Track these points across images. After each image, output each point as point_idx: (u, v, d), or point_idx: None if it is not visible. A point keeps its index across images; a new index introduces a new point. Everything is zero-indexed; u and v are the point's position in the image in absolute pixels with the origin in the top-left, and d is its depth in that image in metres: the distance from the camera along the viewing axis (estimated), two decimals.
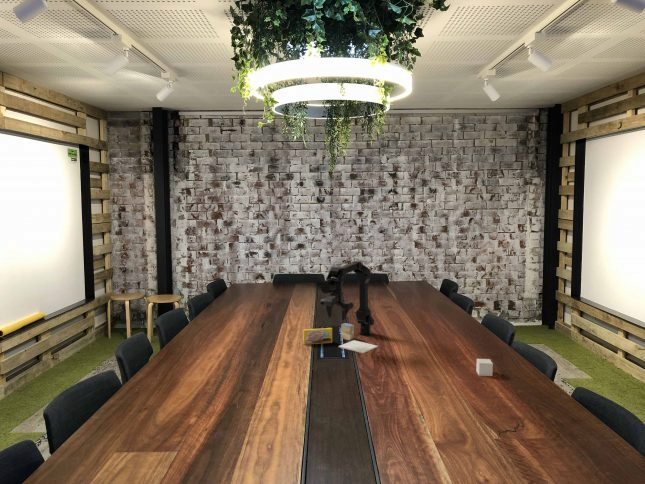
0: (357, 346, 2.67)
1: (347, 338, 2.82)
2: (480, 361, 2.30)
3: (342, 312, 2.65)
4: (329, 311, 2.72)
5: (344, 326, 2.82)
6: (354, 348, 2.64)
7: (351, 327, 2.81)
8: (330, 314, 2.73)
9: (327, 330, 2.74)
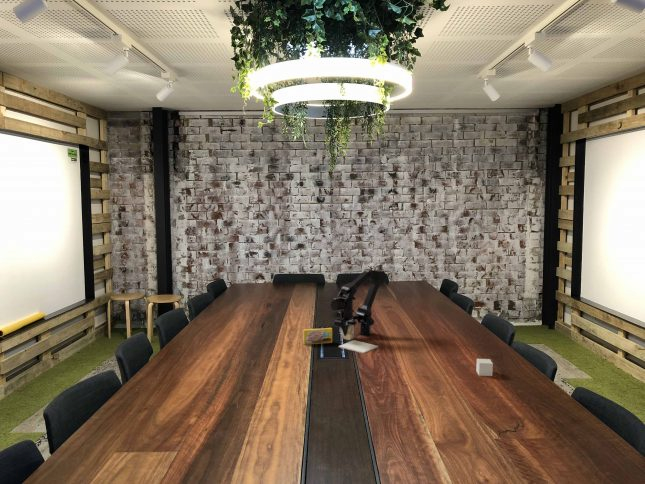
0: (357, 346, 2.67)
1: (347, 338, 2.82)
2: (480, 361, 2.30)
3: None
4: None
5: None
6: (354, 348, 2.64)
7: (351, 327, 2.81)
8: None
9: (327, 330, 2.74)
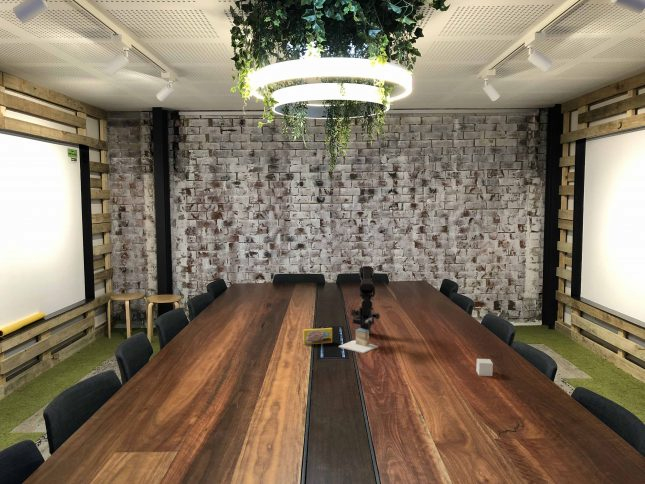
0: (357, 346, 2.67)
1: (362, 344, 2.69)
2: (480, 361, 2.30)
3: None
4: None
5: (359, 332, 2.69)
6: (354, 348, 2.64)
7: (366, 332, 2.68)
8: None
9: (327, 330, 2.74)
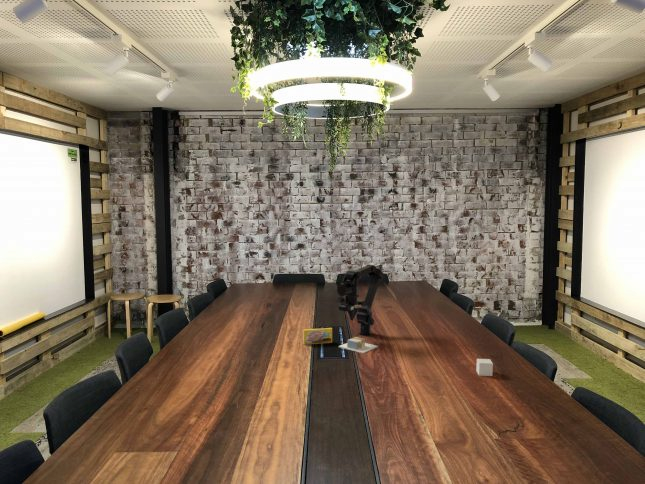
0: None
1: None
2: (480, 361, 2.30)
3: None
4: None
5: None
6: None
7: (357, 346, 2.63)
8: None
9: (327, 330, 2.74)
